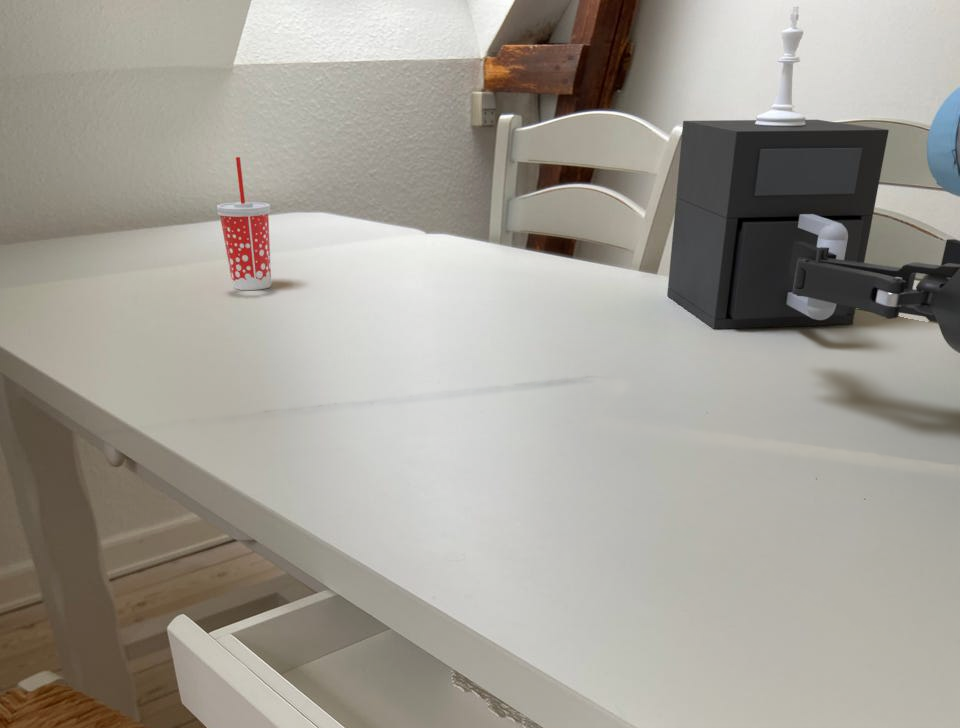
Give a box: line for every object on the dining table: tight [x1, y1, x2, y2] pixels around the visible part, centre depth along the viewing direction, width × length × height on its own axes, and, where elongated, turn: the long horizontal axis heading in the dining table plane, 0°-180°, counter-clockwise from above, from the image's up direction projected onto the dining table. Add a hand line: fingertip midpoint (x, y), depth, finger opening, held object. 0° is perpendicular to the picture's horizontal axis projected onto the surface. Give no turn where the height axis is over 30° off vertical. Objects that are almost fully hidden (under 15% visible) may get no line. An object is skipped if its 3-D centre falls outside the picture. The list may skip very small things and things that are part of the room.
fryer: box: [666, 119, 889, 330], centre depth 105 cm, size 16×15×18 cm
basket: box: [727, 214, 863, 320], centre depth 102 cm, size 23×12×10 cm, turn 8°
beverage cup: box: [216, 156, 272, 291], centre depth 117 cm, size 6×6×14 cm
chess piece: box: [755, 6, 807, 126], centre depth 98 cm, size 5×5×10 cm
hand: (871, 257), depth 85 cm, fingers open, 13 cm apart
